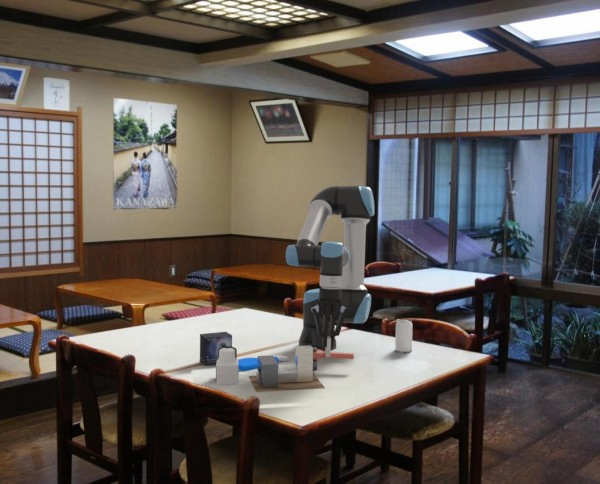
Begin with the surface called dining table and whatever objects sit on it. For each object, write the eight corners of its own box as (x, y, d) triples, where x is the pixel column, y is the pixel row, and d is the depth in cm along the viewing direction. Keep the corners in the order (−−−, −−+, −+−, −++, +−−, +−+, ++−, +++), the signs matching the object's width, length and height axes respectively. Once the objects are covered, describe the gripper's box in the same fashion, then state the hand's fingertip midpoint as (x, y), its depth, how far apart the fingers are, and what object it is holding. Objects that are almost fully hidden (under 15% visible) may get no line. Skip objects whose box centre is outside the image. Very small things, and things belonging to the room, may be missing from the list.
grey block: (257, 378, 227) (257, 356, 226) (272, 377, 228) (272, 355, 227) (262, 388, 216) (262, 364, 215) (278, 387, 217) (278, 364, 216)
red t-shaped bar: (301, 359, 235) (301, 350, 235) (304, 354, 242) (304, 345, 242) (352, 361, 232) (352, 352, 232) (354, 356, 239) (354, 347, 239)
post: (307, 371, 240) (308, 356, 239) (316, 370, 240) (316, 356, 240) (309, 373, 237) (309, 358, 236) (318, 373, 237) (318, 358, 237)
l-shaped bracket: (256, 381, 223) (256, 347, 222) (310, 378, 227) (310, 345, 226) (257, 384, 219) (257, 350, 219) (312, 381, 223) (312, 348, 222)
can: (411, 352, 267) (412, 322, 265) (394, 351, 268) (395, 321, 267) (412, 348, 273) (412, 319, 272) (395, 348, 274) (396, 318, 273)
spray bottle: (245, 367, 235) (294, 355, 253) (224, 361, 242) (273, 350, 260) (245, 375, 235) (294, 363, 253) (224, 369, 242) (273, 358, 260)
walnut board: (248, 378, 230) (248, 375, 230) (312, 375, 234) (312, 372, 234) (256, 395, 212) (256, 391, 212) (325, 391, 217) (325, 388, 217)
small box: (205, 366, 245) (205, 337, 244) (199, 362, 251) (198, 333, 250) (232, 363, 250) (232, 334, 249) (226, 358, 256) (226, 331, 255)
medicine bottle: (216, 380, 228) (216, 345, 226) (238, 380, 228) (238, 344, 227) (216, 387, 220) (215, 350, 219) (238, 386, 221) (238, 350, 220)
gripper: (314, 288, 228) (311, 358, 230) (351, 289, 230) (348, 358, 232) (309, 285, 235) (307, 353, 237) (345, 286, 238) (342, 353, 239)
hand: (327, 356), depth 234 cm, fingers closed
